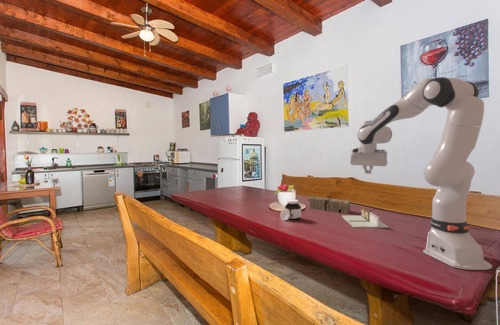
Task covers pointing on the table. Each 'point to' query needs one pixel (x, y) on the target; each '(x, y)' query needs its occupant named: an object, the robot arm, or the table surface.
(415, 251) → the table surface
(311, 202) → the grey stone bar
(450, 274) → the table surface
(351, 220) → the card
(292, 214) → the spread jar
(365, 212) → the fence fixed
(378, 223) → the fence gate
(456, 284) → the table surface
